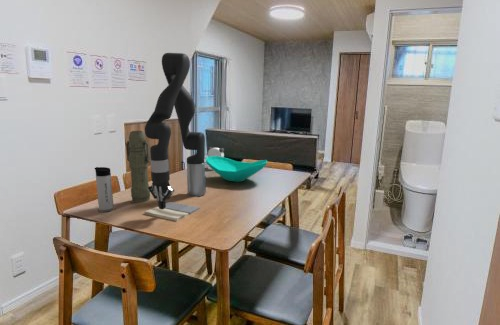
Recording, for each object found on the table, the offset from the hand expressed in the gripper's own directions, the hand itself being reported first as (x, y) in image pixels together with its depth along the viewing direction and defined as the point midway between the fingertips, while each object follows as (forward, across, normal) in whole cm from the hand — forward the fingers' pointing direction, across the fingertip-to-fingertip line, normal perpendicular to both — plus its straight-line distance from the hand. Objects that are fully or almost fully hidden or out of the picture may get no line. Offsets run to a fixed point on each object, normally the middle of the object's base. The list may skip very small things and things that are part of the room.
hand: (162, 208), depth 143 cm
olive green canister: (+5, +25, -13) cm, 28 cm away
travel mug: (+4, +30, +4) cm, 30 cm away
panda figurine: (+6, +31, -93) cm, 98 cm away
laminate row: (+4, 0, -11) cm, 12 cm away
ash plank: (+4, 0, -2) cm, 5 cm away
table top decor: (+5, +2, -70) cm, 70 cm away
